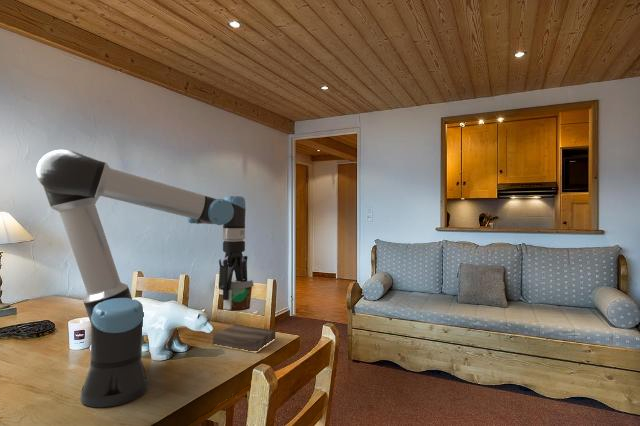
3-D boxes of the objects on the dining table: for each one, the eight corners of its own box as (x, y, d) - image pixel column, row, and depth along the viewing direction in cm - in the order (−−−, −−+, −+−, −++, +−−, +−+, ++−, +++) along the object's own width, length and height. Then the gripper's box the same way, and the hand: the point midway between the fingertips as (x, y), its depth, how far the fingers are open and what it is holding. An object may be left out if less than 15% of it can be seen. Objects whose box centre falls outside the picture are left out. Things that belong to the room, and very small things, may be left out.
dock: (256, 353, 123) (256, 341, 123) (212, 345, 130) (213, 334, 130) (275, 340, 136) (275, 330, 136) (234, 334, 143) (235, 324, 143)
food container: (212, 309, 124) (213, 281, 124) (223, 305, 129) (223, 278, 129) (244, 313, 120) (244, 283, 120) (253, 308, 126) (253, 280, 126)
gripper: (226, 242, 115) (225, 314, 114) (257, 239, 132) (257, 301, 132) (207, 241, 117) (206, 312, 117) (240, 238, 135) (240, 299, 135)
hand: (233, 306), depth 125 cm, fingers closed on food container, 6 cm apart
